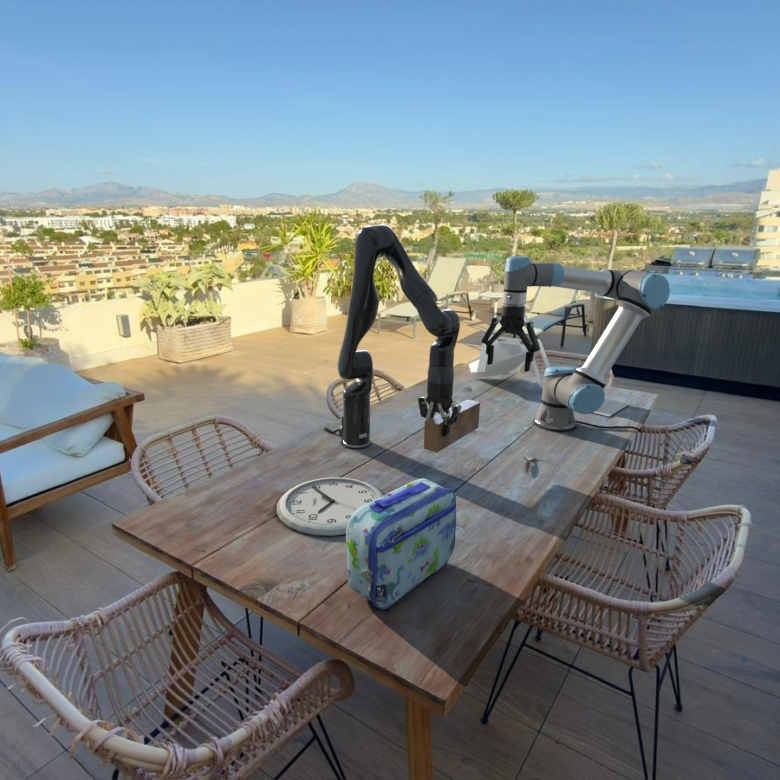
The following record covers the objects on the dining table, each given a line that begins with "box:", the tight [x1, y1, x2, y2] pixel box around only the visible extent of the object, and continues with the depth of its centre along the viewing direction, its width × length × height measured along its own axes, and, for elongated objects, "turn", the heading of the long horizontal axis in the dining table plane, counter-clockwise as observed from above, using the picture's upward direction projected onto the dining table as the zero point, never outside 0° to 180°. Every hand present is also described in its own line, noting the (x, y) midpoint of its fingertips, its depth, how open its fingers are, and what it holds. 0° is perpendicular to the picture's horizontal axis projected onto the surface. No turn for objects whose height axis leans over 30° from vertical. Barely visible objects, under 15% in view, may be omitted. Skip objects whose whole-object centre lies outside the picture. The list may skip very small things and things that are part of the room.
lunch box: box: [345, 477, 457, 610], centre depth 110 cm, size 26×11×21 cm, turn 134°
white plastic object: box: [468, 312, 551, 390], centre depth 257 cm, size 37×45×31 cm
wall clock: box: [276, 476, 385, 537], centre depth 142 cm, size 30×2×30 cm
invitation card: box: [592, 399, 629, 418], centre depth 226 cm, size 21×1×15 cm
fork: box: [525, 448, 536, 473], centre depth 169 cm, size 3×16×2 cm, turn 160°
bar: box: [423, 399, 481, 454], centre depth 164 cm, size 26×5×9 cm, turn 143°
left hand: (437, 433), depth 157 cm, fingers closed on bar, 4 cm apart
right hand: (507, 367), depth 178 cm, fingers open, 13 cm apart
